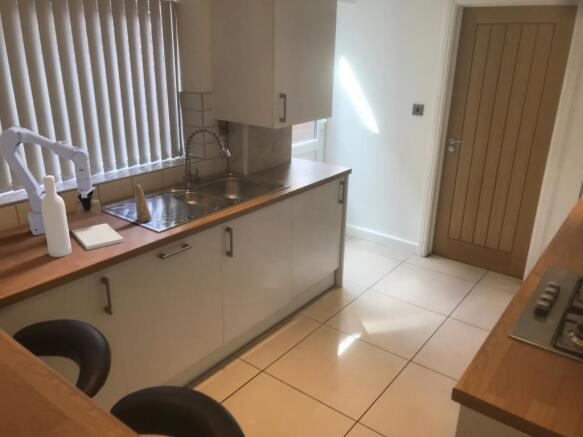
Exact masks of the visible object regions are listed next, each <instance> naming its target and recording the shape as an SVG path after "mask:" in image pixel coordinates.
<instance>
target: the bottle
mask: <svg viewBox="0 0 583 437" xmlns="http://www.w3.org/2000/svg"><path fill="white" fill-rule="evenodd" d="M42 183H43V186H44V190H45V194H46V196H45V197H44V198H43V199H42V202H41V209H42V215H43V221H44V227H45V233H44V234H45V238H46V243H47V251H48V252H47V253H48V254H49V256H50V257H53V258H62V257H65V256H68V255H70V254H71V253H72V251H73V250H72V243H71V238H70V232H69V231H70V230H69V226H68V225H69V224H68V218H67V211H66V204H65V201H64V199H63V198H62V197H61V196H60V195H59V194H57V187H56V179H55V176H54V175H43V177H42Z"/></svg>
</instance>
